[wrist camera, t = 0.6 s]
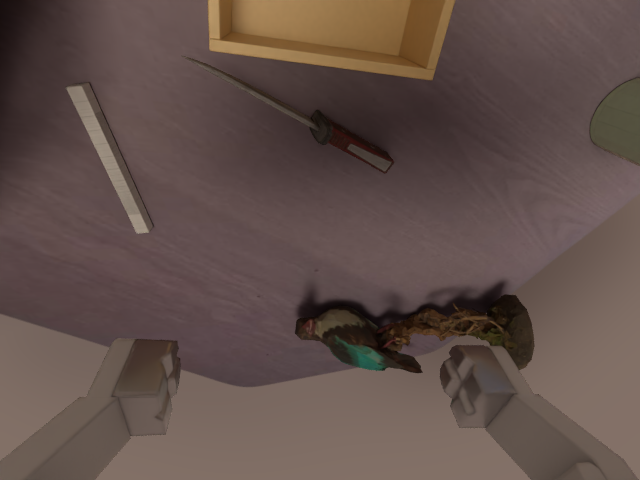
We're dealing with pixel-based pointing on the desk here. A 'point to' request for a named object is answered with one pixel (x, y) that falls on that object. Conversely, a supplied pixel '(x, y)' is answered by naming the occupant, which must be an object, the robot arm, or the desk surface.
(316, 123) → the knife
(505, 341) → the sculpture
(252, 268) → the desk surface
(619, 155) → the tumbler
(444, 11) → the tote
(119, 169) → the gray square bar
